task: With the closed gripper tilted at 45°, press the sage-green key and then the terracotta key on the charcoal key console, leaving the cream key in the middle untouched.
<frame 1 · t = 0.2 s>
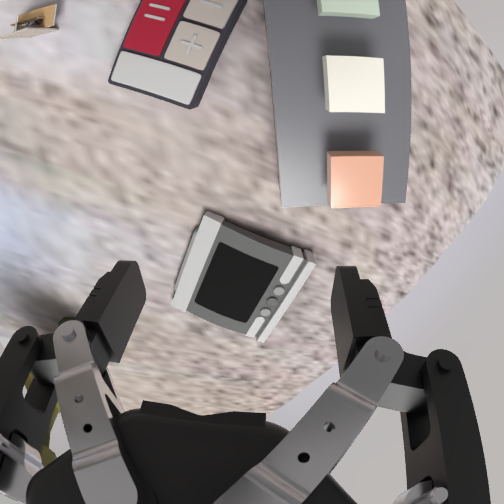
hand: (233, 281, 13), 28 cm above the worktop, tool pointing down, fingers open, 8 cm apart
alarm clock: (237, 274, 48), on the worktop
terracotta key: (350, 172, 30), point 8 cm above the worktop, slide at 0.0 cm
architectural model: (46, 27, 28), on the worktop
cream key: (349, 82, 25), point 8 cm above the worktop, slide at 0.0 cm
key console: (331, 80, 32), on the worktop
vase: (78, 333, 57), on the worktop
calculator: (180, 38, 30), on the worktop
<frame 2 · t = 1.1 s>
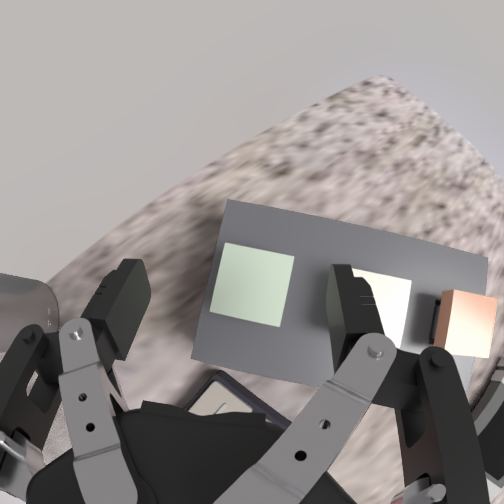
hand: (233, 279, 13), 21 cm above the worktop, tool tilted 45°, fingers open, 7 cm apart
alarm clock: (493, 435, 28), on the worktop
terracotta key: (456, 324, 23), point 8 cm above the worktop, slide at 0.0 cm
cream key: (365, 309, 24), point 8 cm above the worktop, slide at 0.0 cm
sage key: (254, 287, 25), point 8 cm above the worktop, slide at 0.0 cm
key console: (343, 309, 32), on the worktop
calculator: (244, 442, 31), on the worktop
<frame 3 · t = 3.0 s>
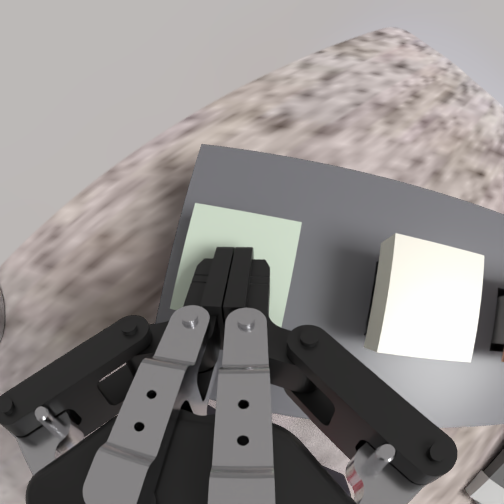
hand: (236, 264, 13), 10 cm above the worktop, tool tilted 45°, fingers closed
cream key: (413, 303, 15), point 8 cm above the worktop, slide at 0.0 cm
sage key: (241, 273, 17), point 7 cm above the worktop, slide at 1.3 cm, touching gripper
key console: (368, 306, 23), on the worktop
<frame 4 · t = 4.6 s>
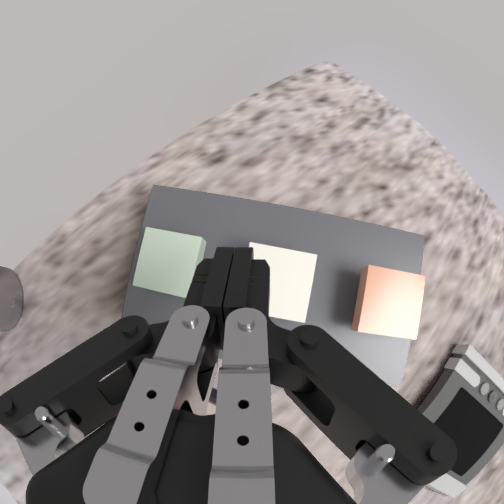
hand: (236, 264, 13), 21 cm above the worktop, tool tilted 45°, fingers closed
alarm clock: (453, 427, 30), on the worktop
terracotta key: (381, 303, 25), point 8 cm above the worktop, slide at 0.0 cm
cream key: (276, 284, 26), point 8 cm above the worktop, slide at 0.0 cm
sage key: (175, 265, 28), point 7 cm above the worktop, slide at 1.7 cm
key console: (274, 290, 34), on the worktop
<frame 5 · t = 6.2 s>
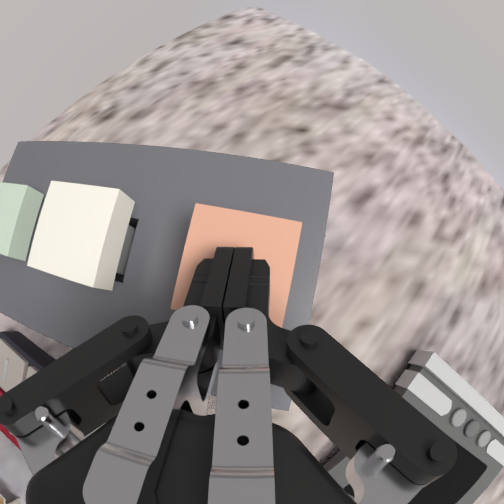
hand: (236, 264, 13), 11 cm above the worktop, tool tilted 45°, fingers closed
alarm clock: (413, 466, 21), on the worktop
terracotta key: (242, 273, 17), point 8 cm above the worktop, slide at 0.5 cm, touching gripper
architectural model: (17, 503, 22), on the worktop
cream key: (93, 240, 17), point 8 cm above the worktop, slide at 0.0 cm
sage key: (20, 225, 20), point 7 cm above the worktop, slide at 1.7 cm
key console: (145, 261, 25), on the worktop
calculator: (58, 411, 24), on the worktop
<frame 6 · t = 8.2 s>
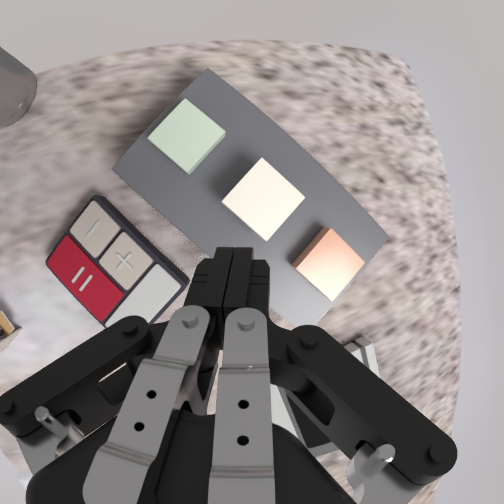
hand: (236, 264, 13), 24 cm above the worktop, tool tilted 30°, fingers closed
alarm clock: (322, 402, 43), on the worktop
terracotta key: (322, 261, 32), point 7 cm above the worktop, slide at 1.6 cm
architectural model: (12, 331, 36), on the worktop
cream key: (259, 200, 29), point 8 cm above the worktop, slide at 0.0 cm
sage key: (188, 140, 29), point 7 cm above the worktop, slide at 1.7 cm
key console: (250, 203, 37), on the worktop
calculator: (118, 269, 37), on the worktop
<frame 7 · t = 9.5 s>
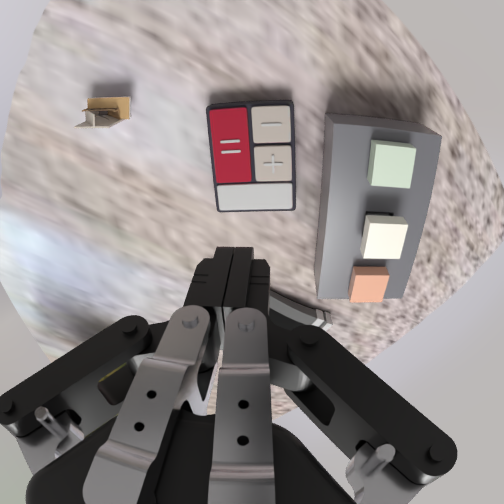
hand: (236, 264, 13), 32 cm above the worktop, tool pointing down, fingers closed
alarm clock: (271, 323, 62), on the worktop
terracotta key: (365, 277, 45), point 7 cm above the worktop, slide at 1.6 cm
architectural model: (115, 109, 40), on the worktop
cream key: (380, 230, 39), point 8 cm above the worktop, slide at 0.0 cm
sage key: (386, 159, 35), point 7 cm above the worktop, slide at 1.7 cm
key console: (365, 202, 45), on the worktop
calculator: (254, 152, 43), on the worktop
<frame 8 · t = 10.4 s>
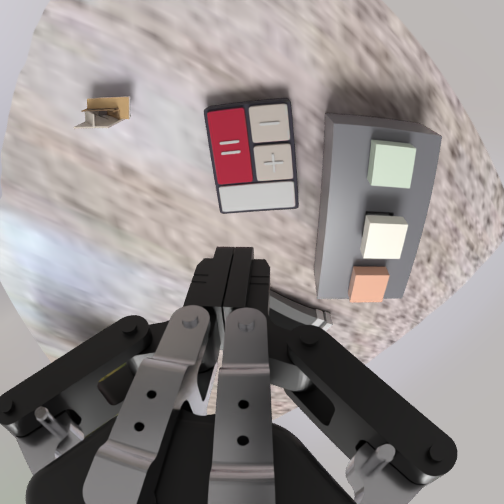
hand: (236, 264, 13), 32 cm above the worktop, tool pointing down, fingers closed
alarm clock: (271, 323, 62), on the worktop
terracotta key: (365, 277, 45), point 7 cm above the worktop, slide at 1.6 cm
architectural model: (115, 109, 40), on the worktop
cream key: (380, 230, 39), point 8 cm above the worktop, slide at 0.0 cm
sage key: (386, 159, 35), point 7 cm above the worktop, slide at 1.7 cm
key console: (365, 202, 45), on the worktop
calculator: (254, 152, 43), on the worktop
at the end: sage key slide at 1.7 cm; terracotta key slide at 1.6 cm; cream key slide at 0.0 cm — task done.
